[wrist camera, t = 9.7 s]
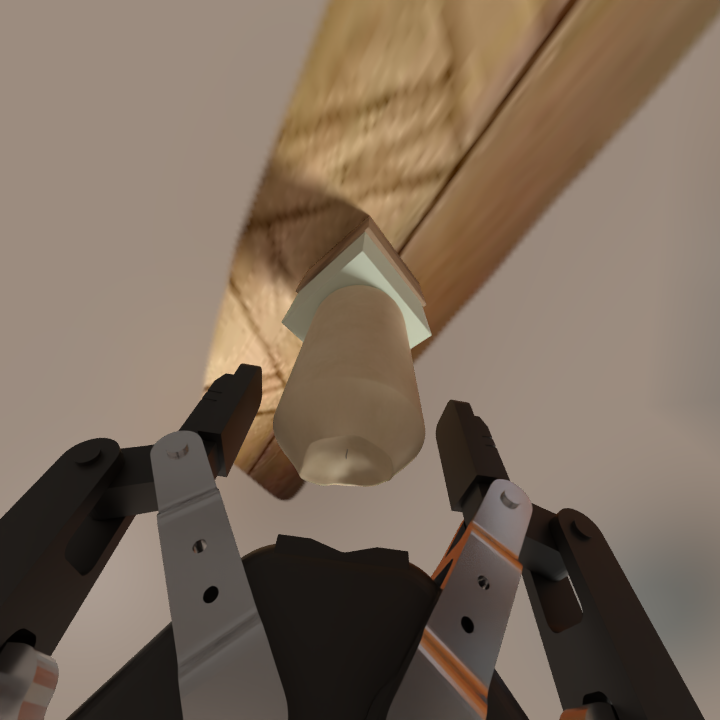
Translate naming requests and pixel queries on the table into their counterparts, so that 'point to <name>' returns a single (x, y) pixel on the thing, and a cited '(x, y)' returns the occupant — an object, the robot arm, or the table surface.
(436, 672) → the robot arm
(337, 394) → the candle
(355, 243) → the top block
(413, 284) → the base block
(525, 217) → the table surface
